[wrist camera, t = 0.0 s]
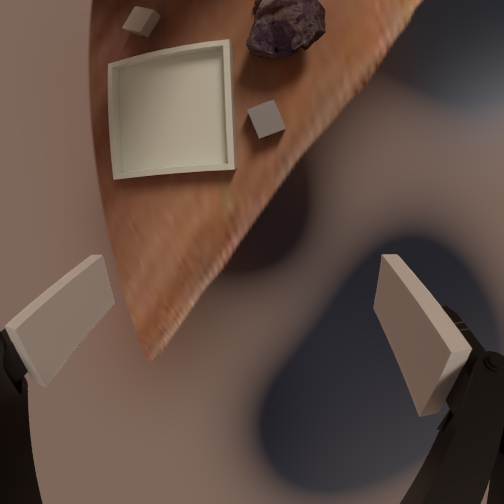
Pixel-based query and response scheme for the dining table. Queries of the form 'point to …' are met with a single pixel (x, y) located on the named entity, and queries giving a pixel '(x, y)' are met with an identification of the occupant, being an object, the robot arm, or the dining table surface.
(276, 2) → the rock
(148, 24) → the matte grey cube
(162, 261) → the dining table surface
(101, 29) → the dining table surface
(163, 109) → the dish
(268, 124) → the squat grey cube
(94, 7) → the dining table surface
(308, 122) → the dining table surface
